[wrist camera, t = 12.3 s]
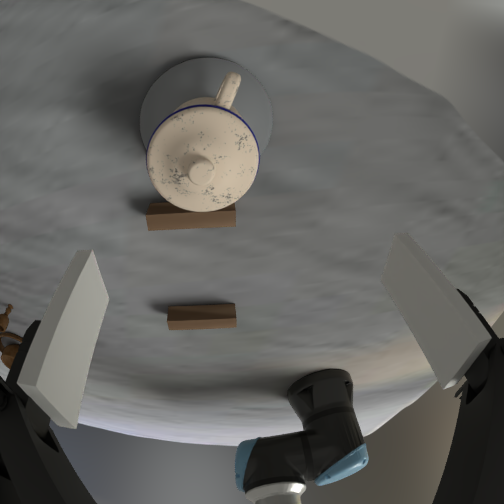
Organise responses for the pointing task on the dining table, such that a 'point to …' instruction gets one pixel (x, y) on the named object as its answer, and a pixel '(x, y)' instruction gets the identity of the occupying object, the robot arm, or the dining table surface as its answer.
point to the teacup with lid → (204, 152)
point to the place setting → (10, 351)
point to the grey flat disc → (206, 85)
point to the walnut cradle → (178, 218)
